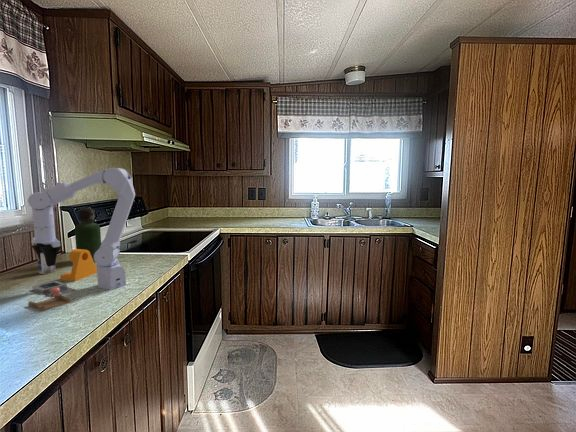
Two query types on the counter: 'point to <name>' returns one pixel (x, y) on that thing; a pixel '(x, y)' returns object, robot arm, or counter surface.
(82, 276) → the bracket
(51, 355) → the counter surface
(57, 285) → the socket block
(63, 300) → the brown piece
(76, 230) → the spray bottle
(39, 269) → the pill bottle
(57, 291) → the button
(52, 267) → the steel round bar
